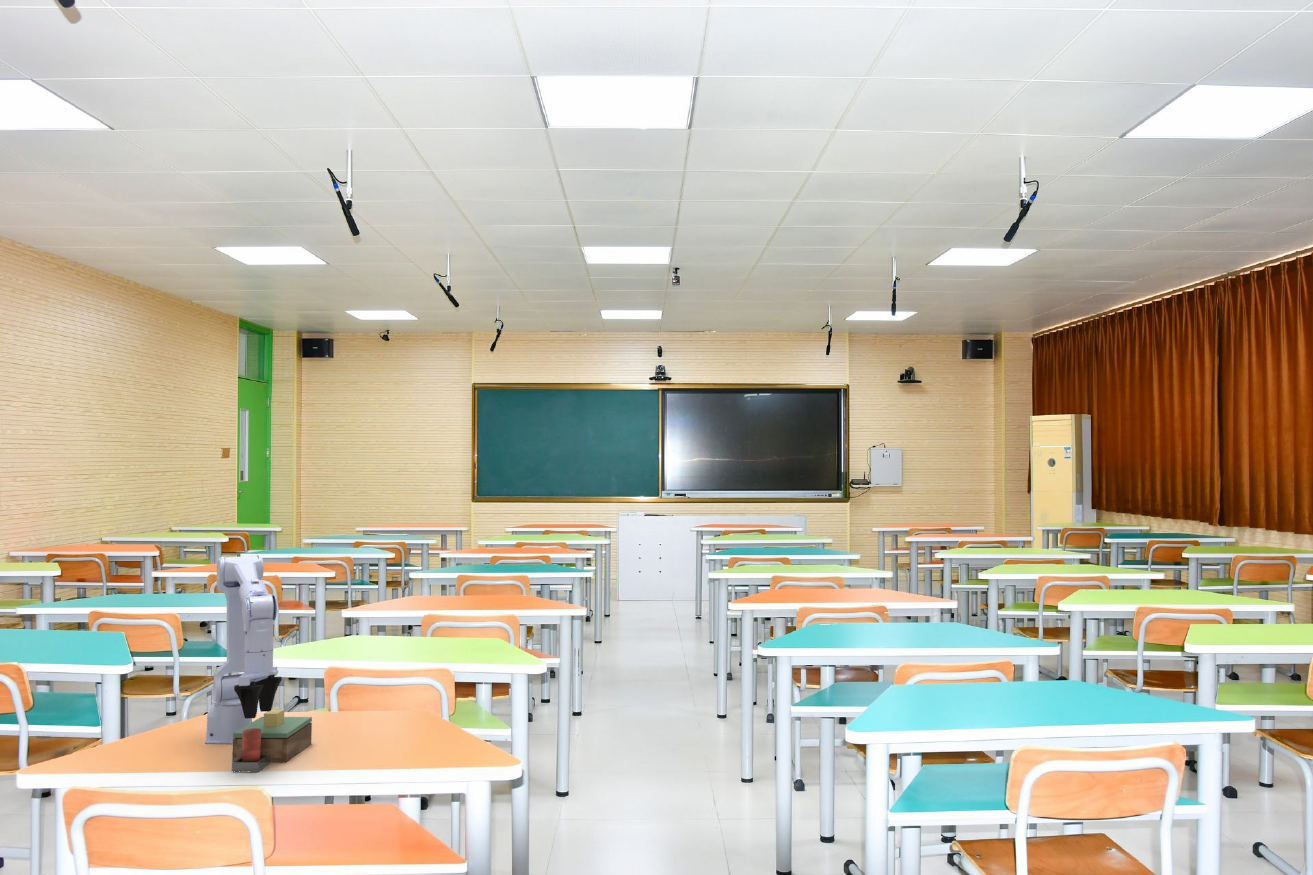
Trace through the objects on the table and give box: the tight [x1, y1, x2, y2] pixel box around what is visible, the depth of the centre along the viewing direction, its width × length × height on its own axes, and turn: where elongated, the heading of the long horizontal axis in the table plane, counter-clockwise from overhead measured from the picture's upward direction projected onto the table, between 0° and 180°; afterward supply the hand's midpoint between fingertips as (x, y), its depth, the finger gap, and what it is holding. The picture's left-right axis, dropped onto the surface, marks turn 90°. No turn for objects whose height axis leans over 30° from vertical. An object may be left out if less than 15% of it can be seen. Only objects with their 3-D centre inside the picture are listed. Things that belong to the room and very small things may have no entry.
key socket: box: [231, 755, 271, 773], centre depth 191 cm, size 6×6×2 cm
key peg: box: [242, 728, 261, 762], centre depth 191 cm, size 4×4×8 cm
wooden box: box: [231, 722, 313, 763], centre depth 202 cm, size 12×14×5 cm
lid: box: [233, 708, 313, 738], centre depth 202 cm, size 12×14×4 cm
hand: (258, 714), depth 192 cm, fingers open, 7 cm apart
